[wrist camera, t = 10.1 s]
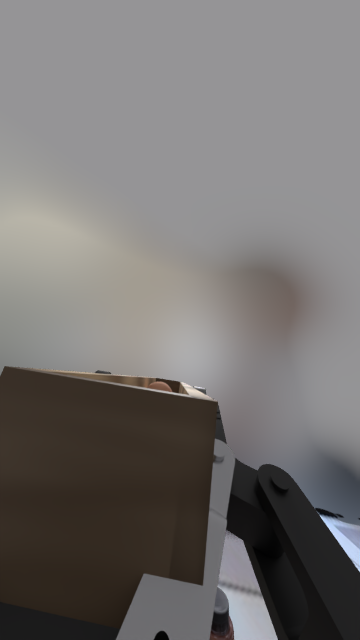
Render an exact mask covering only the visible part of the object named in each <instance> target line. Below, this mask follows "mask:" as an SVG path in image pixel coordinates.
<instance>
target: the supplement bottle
mask: <svg viewBox="0 0 360 640" xmlns="http://www.w3.org/2000/svg"><path fill="white" fill-rule="evenodd" d="M209 640H234V630H233V624H232V621H231V619H230V616H229V603H228V599H227V597H226V595H225V593H224V592H223V591H222V590H221V589H220V588H218V587H217V592H216V599H215V606H214V612H213V619H212V625H211V632H210V639H209Z"/></svg>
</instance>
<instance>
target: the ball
mask: <svg viewBox="0 0 360 640" xmlns="http://www.w3.org/2000/svg"><path fill="white" fill-rule="evenodd" d="M147 388H150V389H156V390H162V391H168V392H172V390H171V388H170V387H169V386H168V385H167V384H166V383H164V382H154V383H151V384H150V385H149V386H147Z"/></svg>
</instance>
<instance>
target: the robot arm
mask: <svg viewBox="0 0 360 640" xmlns="http://www.w3.org/2000/svg"><path fill="white" fill-rule="evenodd" d="M95 373H100V374H111V373H110V372H105V371H99V370H98V371H96V372H95ZM193 388H194V389H196V390H198V391H200V392H202V393H203V394H205V395H206V389H205V388H200V387H194V386H193ZM226 530H228V531H229V532H231V533H233V534H234V535H236V536H237V537H239V538H240V539H242V540H243V541H244V545H245V547H246V550H247V553H248V556H249V559H250V561H251V564H252V567H253V570H254V573H255V576H256V578H257V581H258V584H259V587H260V590H261V593H262V595H263V598H264V601H265V604H266V607H267V610H268V612H269V615H270V618H271V621H272V624H273V626H274V629H275V632H276V635H277V638H278V640H360V572H359V571H358V569H357V568H356V566H355V565H354V564H353V562H352V561H351V559H350V558H349V557H348V555H347V554H346V552H345V551H344V550H343V548H342V547H341V545H340V544H339V543H338V541H337V540H336V538H335V537H334V535H333V534H332V533H331V531H330V530H329V528H328V527H327V526H326V524H325V523H324V521H323V520H322V519H321V517H320V516H319V514H318V513H317V512H316V510H315V509H314V507H313V506H312V505H311V503H310V502H309V501H308V499H307V498H306V496H305V495H304V493H303V492H302V491H301V489H300V488H299V486H298V485H297V483H296V482H295V481H294V480H293V478H291V476H290V475H289V474H288V473H286V472H285V471H284V470H282V469H281V468H279V467H276V466H274V465H271V464H265V465H262V466H261V467H260V468H259V469H258V471H257V470H255V469H253V468H251V467H249V466H247V465H245V464H243V463H241V462H240V461H238V460H237V459H236V458H235V456H234V453H233V451H232V450H231V448H230V447H229V446H228V445H227V443H226V439H225V434H224V429H223V425H222V420H221V415H220V410H219V406H218V407H217V419H216V432H215V444H214V457H213V469H212V481H211V494H210V506H209V518H208V531H207V543H206V556H205V568H204V580H203V586H201V585H197V584H192V583H187V582H182V581H178V580H173V579H168V578H163V577H159V576H154V575H149V574H143V577H142V579H141V581H140V584H139V586H138V588H137V591H136V593H135V596H134V598H133V600H132V603H131V605H130V607H129V610H128V612H127V615H126V617H125V619H124V622H123V624H122V626H121V629H118V628H114V627H109V626H105V625H101V624H96V623H92V622H87V621H83V620H78V619H74V618H69V617H65V616H60V615H56V614H51V613H47V612H43V611H38V610H34V609H29V608H25V607H20V606H16V605H11V604H7V603H2V602H0V640H209V639H210V632H211V625H212V619H213V612H214V606H215V599H216V592H217V586H218V579H219V573H220V566H221V559H222V553H223V546H224V540H225V533H226Z"/></svg>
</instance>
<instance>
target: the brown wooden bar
mask: <svg viewBox="0 0 360 640" xmlns="http://www.w3.org/2000/svg"><path fill="white" fill-rule="evenodd" d="M154 382H164V383H166V384H167V385H168V386H169V387H170V388H171V390H172V392H168V391H162V390H156V389H150V388H147V386H149V385H150V384H151V383H154ZM217 407H218V402H217V401H215V400H214V399H212V398H210V397H208V396H207V395H205V394H203V393H202V392H200V391H198V390H196V389H194V388H193V387H191V386H189V385H187V384H186V383H183V382H178V381H171V380H165V379H159V378H152V377H139V376H127V375H113V374H100V373H87V372H73V371H60V370H46V369H33V368H20V367H7V366H5V367H4V369H3V372H2V374H1V376H0V602H2V603H7V604H11V605H16V606H20V607H25V608H29V609H34V610H38V611H43V612H47V613H51V614H56V615H60V616H65V617H69V618H74V619H78V620H83V621H87V622H92V623H96V624H101V625H105V626H109V627H114V628H118V629H121V626H122V624H123V622H124V619H125V617H126V615H127V612H128V610H129V607H130V605H131V603H132V600H133V598H134V596H135V593H136V591H137V588H138V586H139V584H140V581H141V579H142V577H143V574H149V575H154V576H159V577H163V578H168V579H173V580H178V581H182V582H187V583H192V584H197V585H201V586H203V580H204V568H205V556H206V543H207V531H208V518H209V506H210V494H211V481H212V469H213V457H214V444H215V432H216V419H217Z"/></svg>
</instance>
